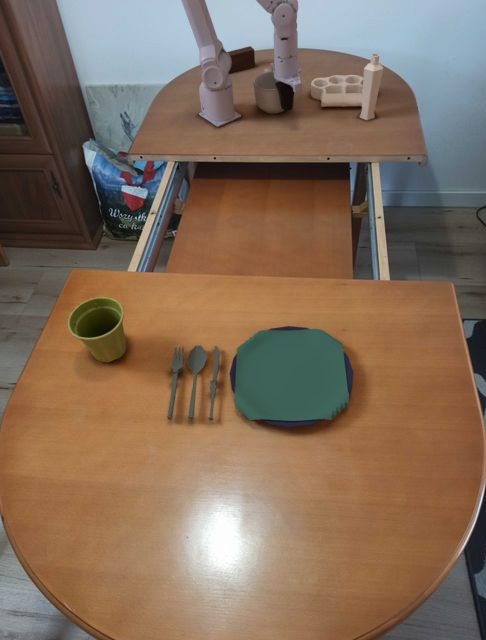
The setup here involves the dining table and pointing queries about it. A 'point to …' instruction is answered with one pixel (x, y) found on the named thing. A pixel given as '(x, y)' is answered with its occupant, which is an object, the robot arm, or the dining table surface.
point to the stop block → (242, 59)
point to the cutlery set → (279, 376)
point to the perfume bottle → (371, 86)
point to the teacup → (267, 92)
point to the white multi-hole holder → (338, 90)
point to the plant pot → (99, 327)
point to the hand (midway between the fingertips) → (286, 108)
